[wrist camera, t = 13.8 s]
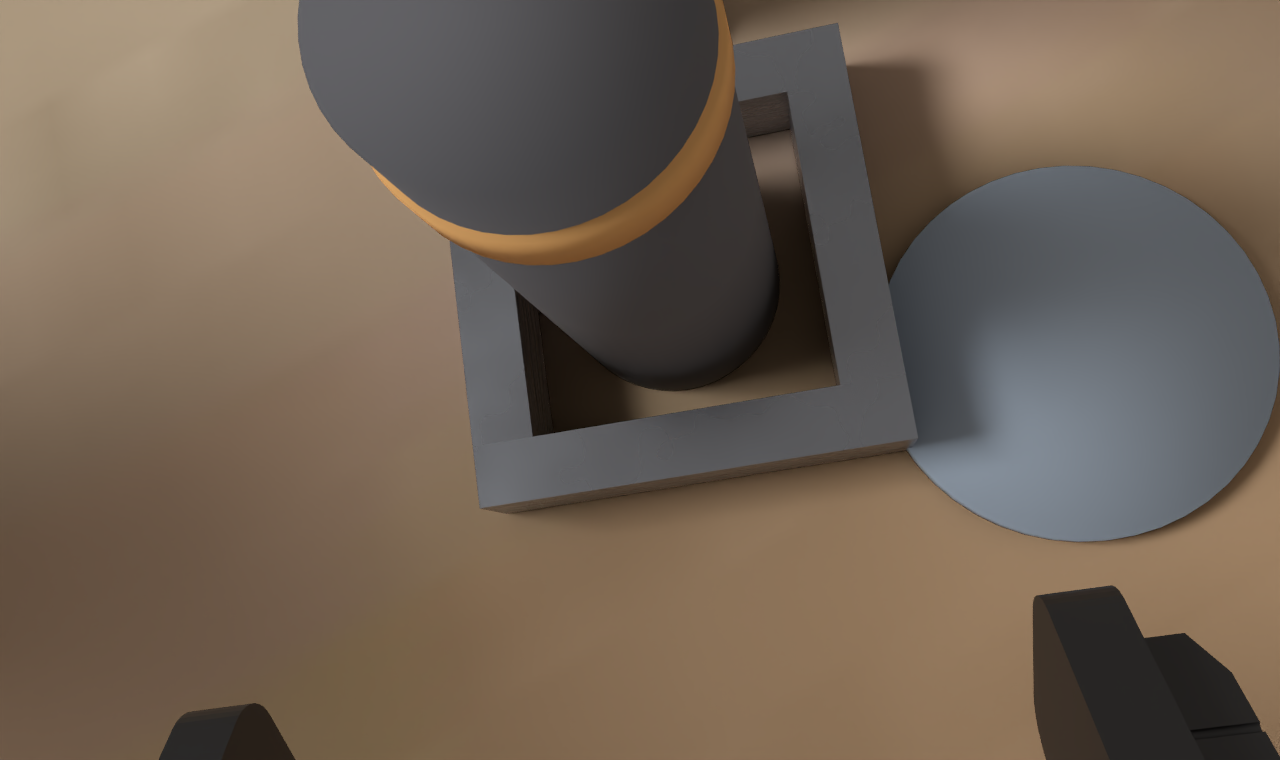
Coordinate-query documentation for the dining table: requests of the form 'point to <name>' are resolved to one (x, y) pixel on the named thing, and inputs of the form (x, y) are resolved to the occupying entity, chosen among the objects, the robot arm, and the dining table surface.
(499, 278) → the socket
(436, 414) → the dining table surface
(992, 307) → the mat
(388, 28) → the plug
